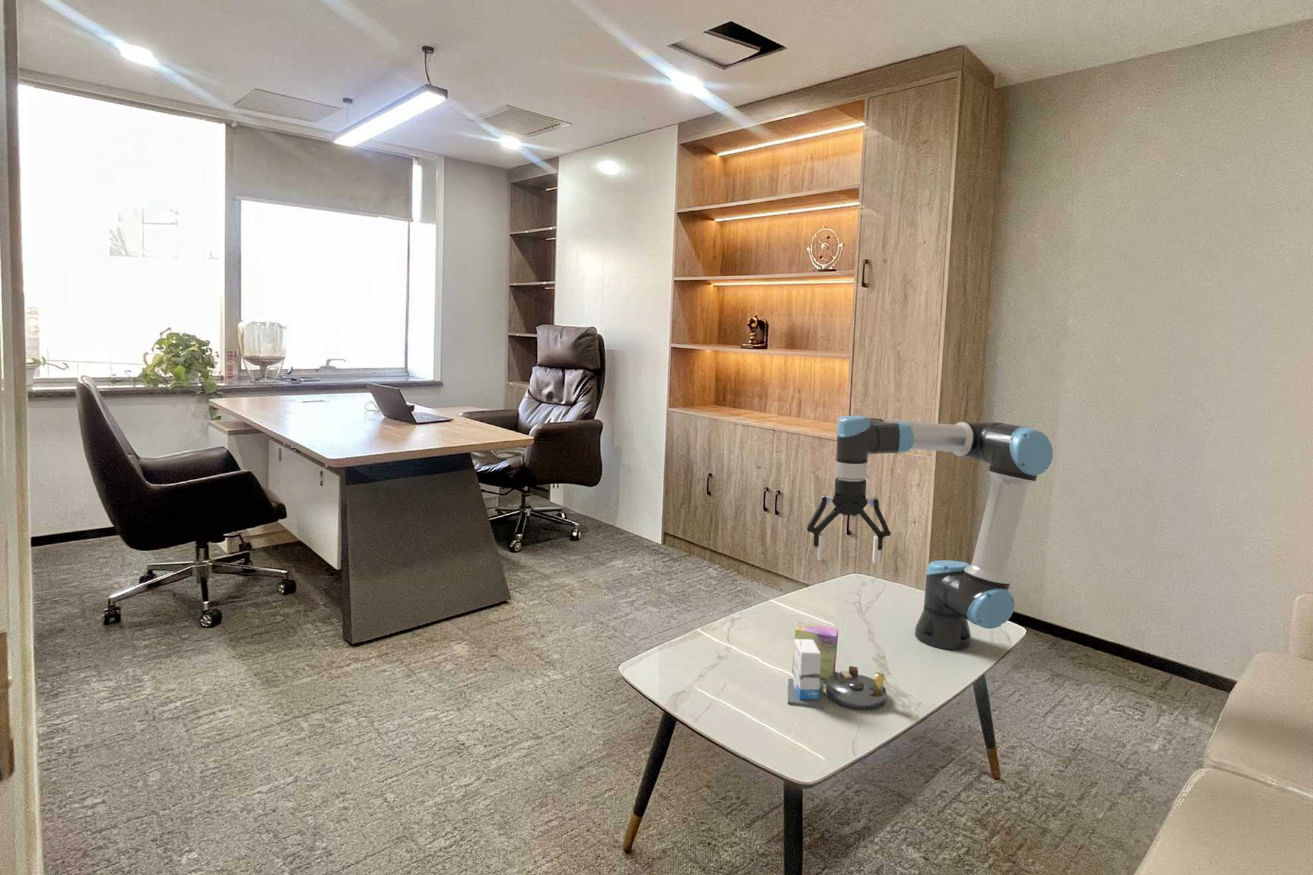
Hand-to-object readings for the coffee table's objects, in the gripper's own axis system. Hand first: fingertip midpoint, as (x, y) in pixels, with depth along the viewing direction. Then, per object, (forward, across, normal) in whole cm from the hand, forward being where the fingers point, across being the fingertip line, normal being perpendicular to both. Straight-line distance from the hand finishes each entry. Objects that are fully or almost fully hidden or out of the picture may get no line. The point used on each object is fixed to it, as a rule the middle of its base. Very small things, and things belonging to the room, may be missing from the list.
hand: (846, 560), depth 186 cm
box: (+30, +7, +1) cm, 31 cm away
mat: (+30, +10, +14) cm, 34 cm away
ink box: (+29, +10, +14) cm, 34 cm away
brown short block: (+30, -3, +4) cm, 30 cm away
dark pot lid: (+30, -2, +12) cm, 32 cm away
